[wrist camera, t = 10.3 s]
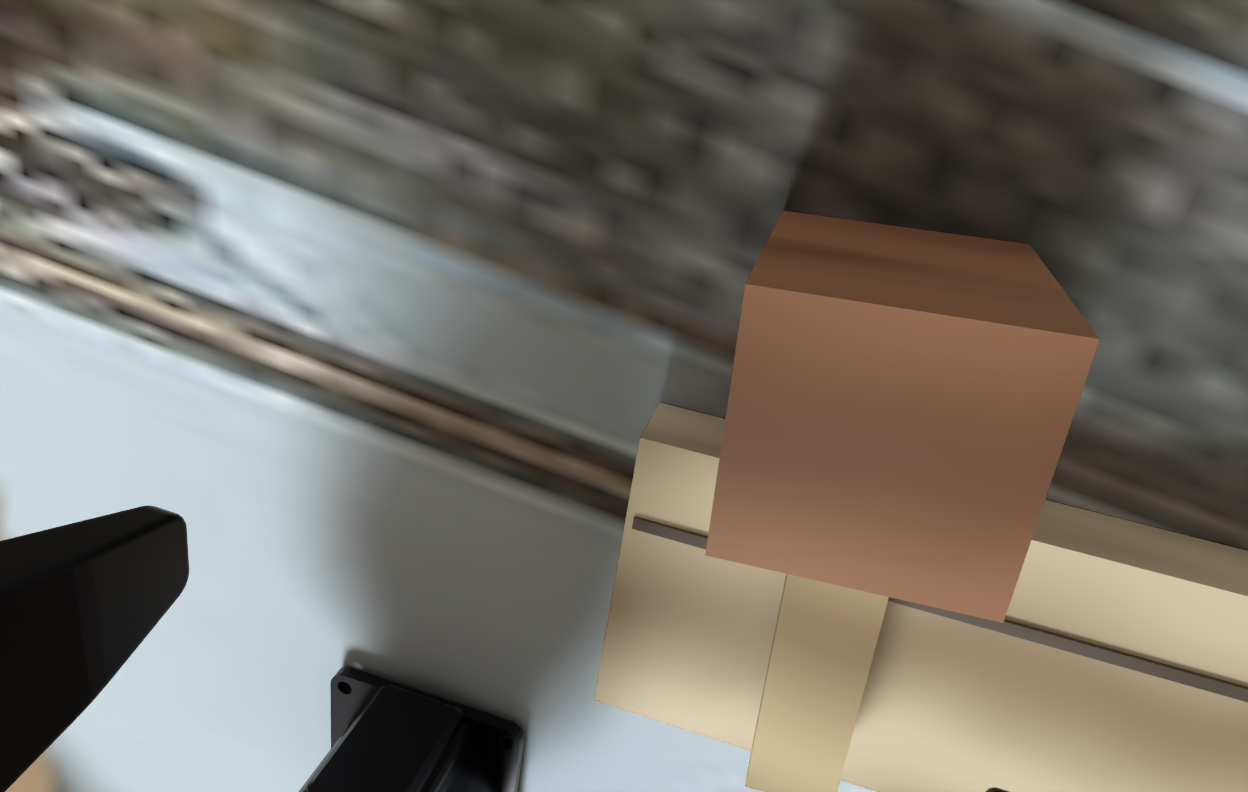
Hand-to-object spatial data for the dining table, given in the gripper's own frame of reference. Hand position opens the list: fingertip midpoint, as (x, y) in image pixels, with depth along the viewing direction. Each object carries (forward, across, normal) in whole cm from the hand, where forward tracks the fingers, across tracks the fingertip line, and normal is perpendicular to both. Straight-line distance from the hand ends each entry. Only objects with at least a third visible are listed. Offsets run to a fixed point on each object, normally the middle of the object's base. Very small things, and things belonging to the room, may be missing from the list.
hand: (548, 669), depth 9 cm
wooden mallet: (+12, -4, +3) cm, 13 cm away
